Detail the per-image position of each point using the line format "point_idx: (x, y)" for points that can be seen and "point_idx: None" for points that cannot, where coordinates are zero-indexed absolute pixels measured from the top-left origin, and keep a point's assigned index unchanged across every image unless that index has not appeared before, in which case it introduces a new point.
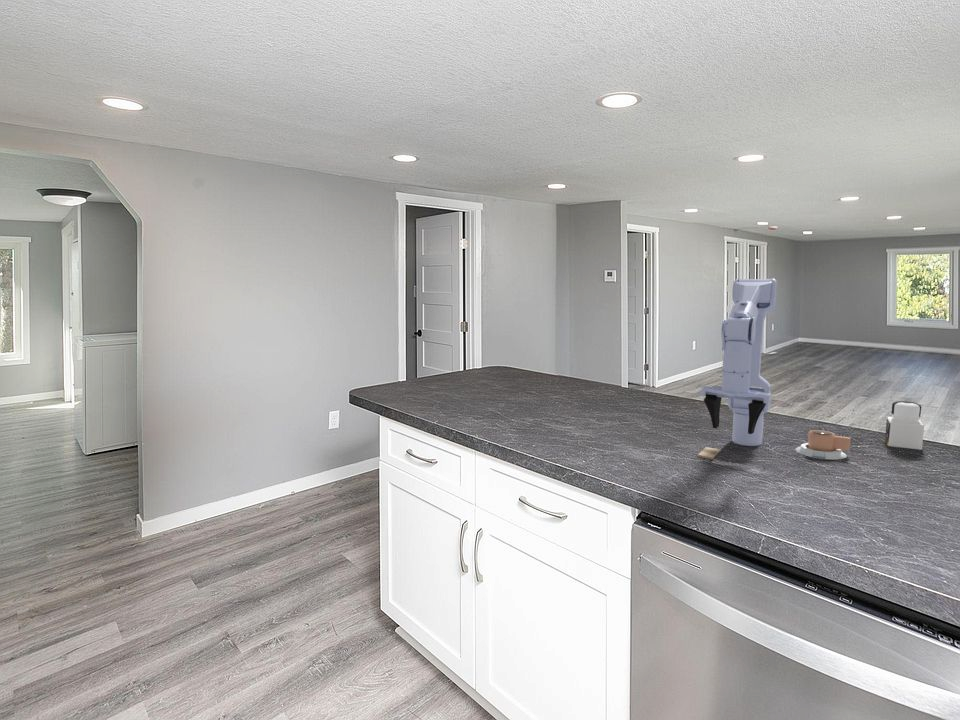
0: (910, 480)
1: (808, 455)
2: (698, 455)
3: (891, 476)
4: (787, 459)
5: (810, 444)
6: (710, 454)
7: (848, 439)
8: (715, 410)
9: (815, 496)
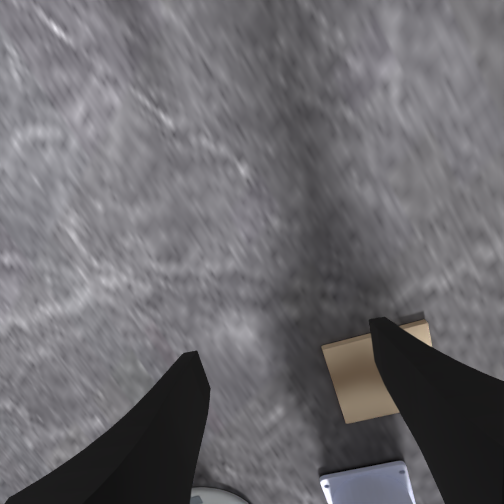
0: None
1: (209, 499)
2: (424, 322)
3: None
4: (237, 458)
5: None
6: None
7: None
8: (432, 404)
9: (29, 262)
